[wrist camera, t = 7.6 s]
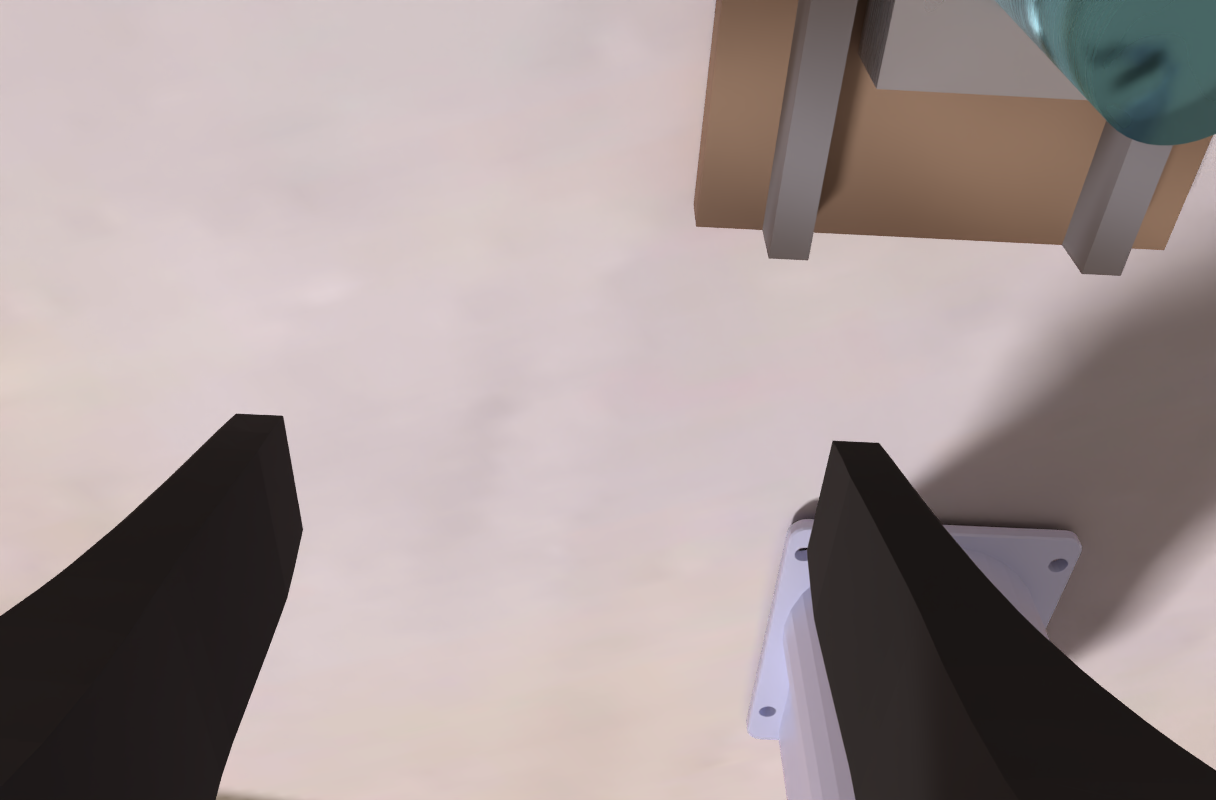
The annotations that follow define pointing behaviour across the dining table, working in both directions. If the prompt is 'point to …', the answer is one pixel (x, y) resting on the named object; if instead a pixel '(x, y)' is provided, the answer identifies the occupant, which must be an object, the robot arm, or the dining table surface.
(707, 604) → the dining table surface
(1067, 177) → the frame
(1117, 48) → the ram
